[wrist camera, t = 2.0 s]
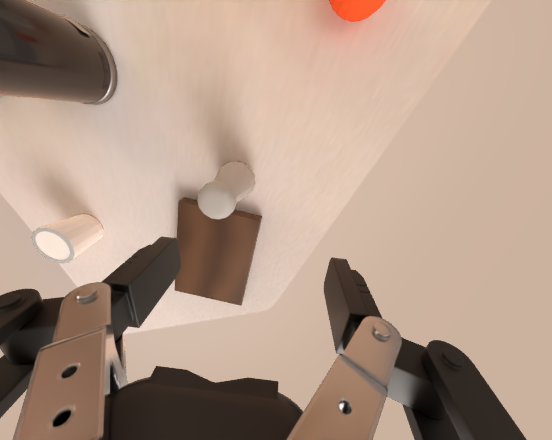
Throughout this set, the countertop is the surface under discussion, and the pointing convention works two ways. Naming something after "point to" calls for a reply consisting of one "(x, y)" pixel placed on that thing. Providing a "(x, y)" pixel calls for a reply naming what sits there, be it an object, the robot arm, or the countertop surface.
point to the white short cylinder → (67, 237)
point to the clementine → (355, 8)
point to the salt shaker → (226, 190)
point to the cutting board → (215, 252)
